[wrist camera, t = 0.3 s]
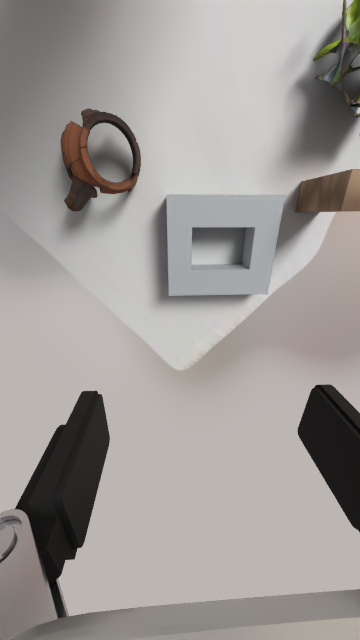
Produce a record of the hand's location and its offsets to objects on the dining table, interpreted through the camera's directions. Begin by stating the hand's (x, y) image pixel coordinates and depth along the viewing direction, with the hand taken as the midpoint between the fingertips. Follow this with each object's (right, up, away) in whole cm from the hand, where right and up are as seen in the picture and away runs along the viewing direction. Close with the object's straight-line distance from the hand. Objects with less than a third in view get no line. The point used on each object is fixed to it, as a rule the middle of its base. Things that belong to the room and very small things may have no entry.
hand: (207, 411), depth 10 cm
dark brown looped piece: (-12, +25, +21) cm, 35 cm away
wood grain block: (+19, +23, +24) cm, 38 cm away
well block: (+5, +16, +26) cm, 31 cm away
